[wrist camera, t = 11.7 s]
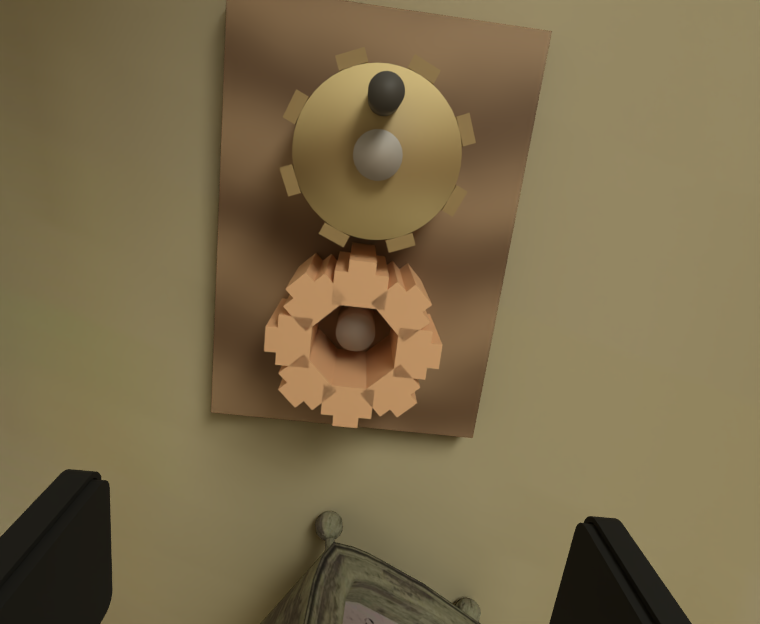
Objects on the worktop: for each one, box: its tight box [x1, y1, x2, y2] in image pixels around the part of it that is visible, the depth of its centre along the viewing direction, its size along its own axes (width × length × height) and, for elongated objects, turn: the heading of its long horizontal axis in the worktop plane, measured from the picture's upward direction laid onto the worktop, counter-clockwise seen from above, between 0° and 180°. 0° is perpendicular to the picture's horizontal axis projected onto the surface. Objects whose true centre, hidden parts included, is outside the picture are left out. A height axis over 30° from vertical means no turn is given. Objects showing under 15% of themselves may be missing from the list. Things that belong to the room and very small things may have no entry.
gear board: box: [211, 0, 552, 438], centre depth 23 cm, size 20×14×8 cm
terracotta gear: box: [264, 242, 443, 428], centre depth 24 cm, size 7×7×4 cm
